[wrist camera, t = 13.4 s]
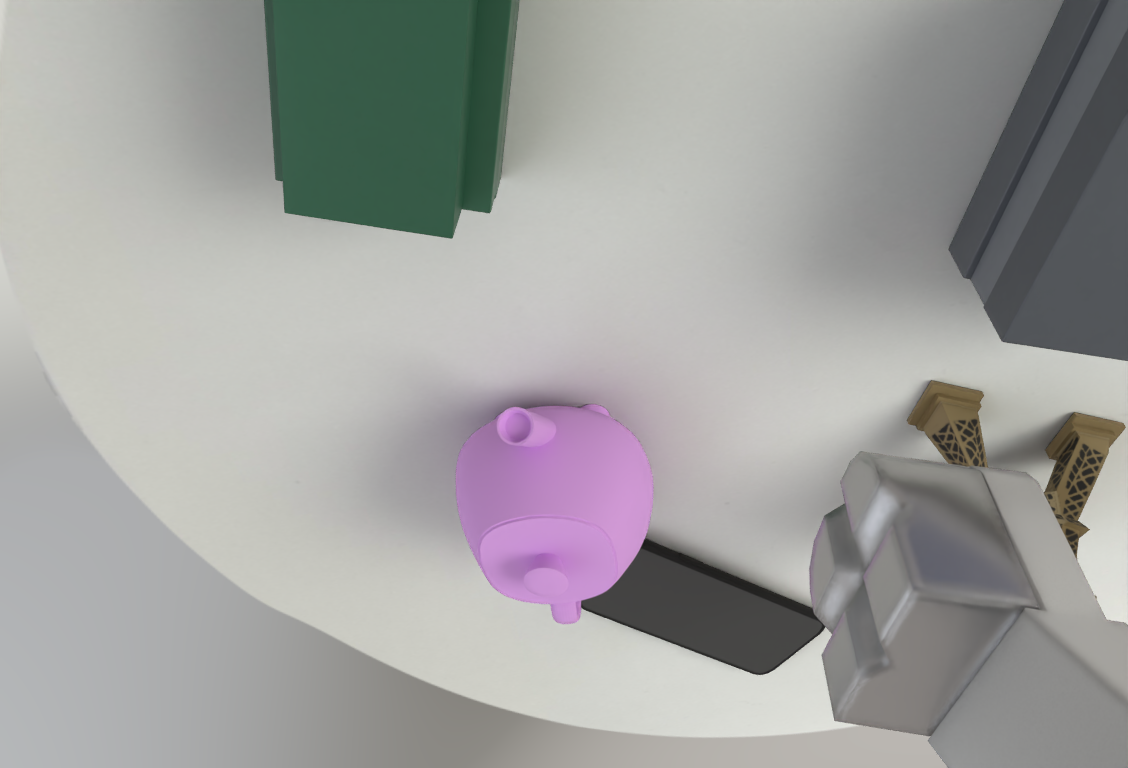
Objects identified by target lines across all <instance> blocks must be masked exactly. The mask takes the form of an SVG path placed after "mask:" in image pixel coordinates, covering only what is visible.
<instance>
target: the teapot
mask: <svg viewBox="0 0 1128 768" xmlns="http://www.w3.org/2000/svg"><path fill="white" fill-rule="evenodd" d="M456 496H457V505H458V511H459V516H460V520H461V524H462V527H463V530H464V533H465V536H466V538H467V541H468V543H469V545H470V548H471V550H472V552H473V554H474V556H475V558H476V560H477V562H478V564H479V566H480V568H481V570H482V571H483V573H484V575H485V576H486V578H487V580H488V581H489V583H490V584H491V585H492V586H493V587H494V588H495V589H496V590H497V591H498V592H500V593H501V594H503V595H505V596H507V597H510V598H513V599H516V600H519V601H524V602H530V603H539V604H551V611H552V615H553V618H554V620H555V621H556V622H558V623H561V624H571V623H575V622H577V621H578V620H579V619H580V614H581V600H585V599H589V598H592V597H595V596H597V595H600V594H602V593H604V592H605V591H607V590H608V589H610V588H611V587H612V586H613V585H614V584H615V583H616V582H617V581H618V580H619V578H620V577H621V576H622V574H623V573H624V572H625V571H626V569H627V568H628V567H629V565H630V564H631V563H632V561H633V560H634V558H635V557H636V555H637V553H638V552H639V550H640V548H641V546H642V543H643V541H644V539H645V537H646V534H647V531H648V527H649V523H650V517H651V512H652V507H653V476H652V472H651V468H650V464H649V462H648V459H647V456H646V454H645V452H644V450H643V448H642V446H641V444H640V442H639V441H638V439H637V438H636V437H635V436H634V435H633V433H631V432H630V431H629V430H628V429H627V428H626V427H624V426H623V425H622V424H620V423H619V422H617V421H616V420H614V419H613V418H611V417H610V415H609V412H608V411H607V410H606V409H605V408H604V407H602V406H600V405H596V404H588V405H585V406H583V407H581V408H577V407H569V406H542V407H534V408H529V409H523V408H520V407H512V408H509V409H506V410H505V411H504V412H503V413H501V414H499V415H498V416H497V417H496V418H495V419H494V420H493V421H491V422H490V423H488V424H486V425H484V426H483V427H481V428H479V429H478V430H477V431H476V432H474V433H473V434H472V435H471V436H470V437H469V439H468V440H467V441H466V442H465V444H464V445H463V447H462V449H461V451H460V453H459V457H458V461H457V466H456Z"/></svg>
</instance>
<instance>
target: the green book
mask: <svg viewBox="0 0 1128 768" xmlns="http://www.w3.org/2000/svg"><path fill="white" fill-rule="evenodd" d="M272 7H273V24H274V41H275V58H276V75H277V92H278V108H279V125H280V142H281V159H282V176H283V193H284V210H285V213H289V214H295V215H302V216H308V217H315V218H321V219H328V220H334V221H341V222H347V223H354V224H360V225H367V226H373V227H380V228H386V229H393V230H399V231H406V232H412V233H419V234H425V235H432V236H438V237H445V238H453V235H454V232H455V229H456V226H457V222H458V219H459V216H460V213H461V210H462V201H463V189H464V176H465V163H466V150H467V137H468V124H469V111H470V98H471V85H472V72H473V59H474V46H475V33H476V20H477V7H478V0H272Z"/></svg>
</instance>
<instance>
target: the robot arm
mask: <svg viewBox="0 0 1128 768" xmlns="http://www.w3.org/2000/svg"><path fill="white" fill-rule="evenodd" d="M840 483H841V487H842V492H843V496H844V500H845V504H843V505H842V506H840V507H838V508H837V509H835V510H833V511H832V512H830V513H828V514H827V515H825V516H824V518H823V521H822V523H821V526H820V528H819V530H818V533H817V535H816V538H815V540H814V545H813V550H812V556H811V562H810V568H809V570H810V594H811V599H812V605H813V611H814V614H815V615H816V617H817V618H818V619H819V620H820V621H821V622H822V623H823V624H824V625H825V627H826V628H827V629H828V630H829V631H830V632H831V633H832V636H831V638H830V640H829V642H828V644H827V646H826V648H825V650H824V652H823V654H822V659H823V665H824V670H825V675H826V680H827V685H828V690H829V695H830V700H831V705H832V710H833V716H834V721H838V722H845V723H851V724H857V725H863V726H869V727H876V728H882V729H888V730H894V731H900V732H906V733H913V734H919V735H925V736H931V737H930V738H929V740H928V742H929V743H930V744H931V746H932V747H933V748H934V750H935V751H936V752H937V754H938V755H939V756H940V758H941V759H942V761H943V762H944V763H945V764H946V765H947V767H948V768H1128V625H1127V624H1126V623H1124V622H1117V621H1111V620H1107V619H1106V617H1105V615H1104V613H1103V611H1102V609H1101V607H1100V605H1099V603H1098V601H1097V599H1096V597H1095V595H1094V593H1093V591H1092V589H1091V587H1090V585H1089V583H1088V581H1087V579H1086V577H1085V575H1084V573H1083V571H1082V569H1081V567H1080V565H1079V563H1078V561H1077V559H1076V557H1075V555H1074V553H1073V551H1072V549H1071V547H1070V545H1069V543H1068V541H1067V539H1066V537H1065V535H1064V533H1063V531H1062V529H1061V527H1060V525H1059V523H1058V521H1057V519H1056V517H1055V515H1054V513H1053V511H1052V509H1051V507H1050V505H1049V503H1048V501H1047V499H1046V497H1045V495H1044V493H1043V491H1042V489H1041V487H1040V485H1039V483H1038V482H1037V481H1036V480H1035V479H1034V478H1032V477H1031V476H1030V475H1029V474H1027V473H1026V472H1018V471H1010V470H1002V469H994V468H986V467H978V466H969V467H966V466H961V465H954V464H947V463H940V462H933V461H926V460H919V459H912V458H905V457H897V456H890V455H883V454H876V453H869V452H862V451H860V452H859V453H858V454H857V455H856V456H855V457H854V458H853V459H852V460H851V461H850V463H849V465H848V467H847V469H846V471H845V473H844V475H843V477H842V479H841V481H840Z"/></svg>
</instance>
